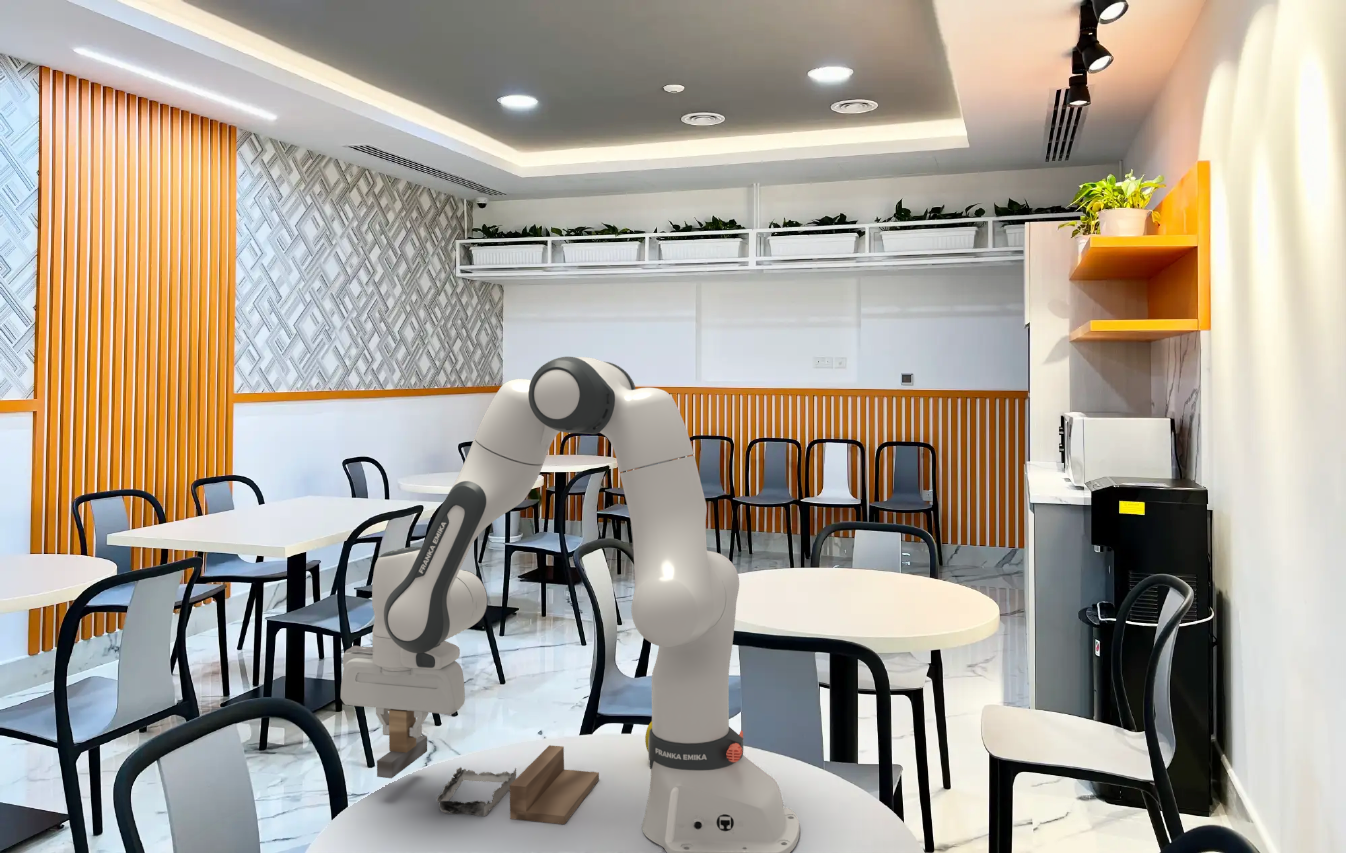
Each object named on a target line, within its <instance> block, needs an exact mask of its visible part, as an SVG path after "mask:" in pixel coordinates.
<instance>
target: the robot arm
mask: <svg viewBox="0 0 1346 853" xmlns="http://www.w3.org/2000/svg"><path fill="white" fill-rule="evenodd" d="M634 382H635V381H634V380H633V379H632V377H631V376H630V374H629V373H628V372H627V371H625V369H623V368H622V367H621V366H619V365H617V364H616V363H613V362H610V361H602V360H599V359H597V358H594V357H589V356H588V357H587V356H577V357H576V356H560V357H557V358H554V359H551V360H550V361H548V362H546V363H544V364H543V365H542V366H540V367H539V368H538V369H537V370H536V372H535V373H534V374H533V376H532V377H531V379H525V378H517V379H511V380H509V381H506V382H505V383H503V384H502V385H501V387H500V388H499V390H497V392H496V393H495V396H494V397H493V398H492V400H491V402H490V404H489V406H488V407H487V409H486V411H485V413H484V416H482V420H481V422H480V424H479V425H478V428H477V431H476V433H475V436H474V438H473V441H472V443H471V446H470V448H469V451H468V453H467V456H466V458H465V460H464V463H463V464H462V468H461V469H460V472H459V474H458V476H457V477H456V480H455V481H454V483H453V485H452V487H451V489H450V491H449V492H448V494H447V495H446V498H445V500H444V502H442V505H441V506H440V508H439V510H438V512H437V514H436V516H435V518H434V520H433V522H432V524H431V526H430V529H429V531H428V533H427V535H426V536H425V539H424V541H423V544H422V546H409V547H403V548H399V549H394V550H389V551H386V552H384V553H383V554H380V556H379V557H377V560H376V562H375V564H374V568H373V573H372V574H373V576H372V588H371V590H372V591H371V593H372V594H371V595H372V596H371V604H372V605H371V606H372V610H373V613H374V624H373V627H372V646H361V645H360V646H359V645H353V646H351V647H350V648H348V649H346V650H345V651H344V653H343V655H342V666H343V667H342V668H343V670H342V677H341V684H340V699H341V701H342V702H343V704H344V705H346V706H354V707H365V708H366V707H367V708H375V715H376V716H377V718H378V720H379V722H380V724H381V725H382V735H383V736H389V710H390V709H396V710H407V711H414V717H415V718H416V722H415V724H412V726H409V727H408V732H409V734H408V737H409V738H419V737H420V736H422V734H423V726H422V725H424V722H425V721H426V719H427V717H428V715H429V713H431V714H441V715H453V714H455V713H456V712H457V711H459V710H460V709H461V708H462V707H463V705H465V699H466V698H465V697H466V696H465V695H466V693H465V690H466V689H465V688H466V687H465V679H464V678H465V677H464V671H463V669H462V665H460V663H459V662H458V661H456V660H458V659H459V658H460V655H461V651H460V647H459V645H456V644H454V643H451V642H450V641H447V640H448V639H450V638H453V637H454V636H457V635H458V634H461V633H462V632H464V631H466V630H467V629H470V628H471V627H473V626H475V625H476V624H477V623H479V622H480V621H481V620H482V619H483V617H484V616H485V614H486V611H487V608H488V603H489V602H488V600H489V599H488V593H487V590H486V587H485V585H484V583H483V581H482V579H481V578H479V577H478V576H477V575H476V574H475V573H474V572H471V571H470V570H466V569H461V568H462V566H463V563H464V561H465V560H466V557H467V555H468V554H469V551H470V548H471V547H472V545H473V543H474V542H475V540H476V539H477V538H478V536H479V535H480V534H481V533H482V532H483V531H484V530H485V529H486V528H487V527H488V526H490V525H491V524H492V523H494V522H495V521H496V520H497V519H499V518H500V517H502V516H503V515H505V514H506V513H508V512H509V511H511V510H512V509H514V508H516V507H518V506H519V505H520V504H521V503H523V502H524V500H525V499H526V498H527V496H528V495H529V493H530V492H531V491H532V489H533V487H534V486H535V483H536V482H537V480H538V478H539V476H540V474H541V471H542V468H543V465H544V463H545V460H546V458H547V455H548V452H549V450H550V447H551V446H552V443H553V442H554V439H555V438H556V437H557V435H558V434H559V433H565V434H567V433H568V434H586V435H588V434H589V435H597V434H602V435H603V436H605V437H606V438H607V439H608V441H609V442H610V444H611V445H612V448H613V451H614V455H615V458H616V463H617V467H618V472H619V476H620V480H621V484H622V488H623V489H622V490H623V493H624V497H625V502H626V506H627V510H628V514H629V519H630V524H631V531H632V532H631V533H632V546H633V548H632V549H633V566H634V567H633V568H634V594H633V597H632V602H631V607H630V608H631V610H630V611H631V619H632V622H633V624H634V627H635V628H636V630H637V631H638V633H639V634H640V635H641V637H643V638H644V639H645V640H646V641H648V642H649V643H651V644H653V645H655V646H658V651H657V654H656V655H657V656H656V660H655V662H654V666H653V670H652V674H651V721H652V729H650V731H649V741H648V751H647V753H648V763H649V769H650V783H649V791H648V796H647V797H648V798H647V804H646V808H645V812H644V817H643V820H642V823H641V829H642V832H643V834H644V835H645V837H646V838H647V839H649V840H650V841H652V842H653V843H655V844H657V845H659V846H660V847H662V848H663V849H664V850H665V852H666V853H791V852H792V851H793V850H794V849H795V848H796V846H797V844H798V841H799V839H800V833H801V830H800V829H801V827H800V820H799V817H798V815H797V814H796V813H795V812H794V811H793V809H791V808H790V807H789V808H788V807H784V801H783V797H782V793H781V790H780V787H779V784H778V782H777V781H776V780H775V778H774V777H772V775H770V774H768V773H767V772H765V770H763V769H762V768H761V767H759V766H758V765H757V764H755V762H753V761H751V760H750V759H749V758H748V757H746V755H744V731H743V730H740V732H739V733H737V732H736V731H735V730H734V729H733V728H731V727H730V719H729V718H730V717H729V716H730V714H729V713H730V712H729V711H730V710H729V709H730V708H729V707H730V706H729V704H730V703H729V700H730V698H729V697H730V696H729V694H730V693H729V690H730V688H729V687H730V686H729V685H730V684H729V682H730V666H731V665H730V664H731V656H732V652H733V651H732V649H733V643H734V642H733V641H734V633H735V623H736V612H737V611H736V610H737V600H738V595H739V590H740V577H739V573H738V571H737V568H736V567H735V565H734V564H733V562H732V561H730V559H729V558H727V557H726V556H725V555H723V554H721V553H720V552H719V553H718V552H715V551H713V550H711V551H710V550H708V546H707V529H706V528H707V525H706V521H707V520H706V519H707V513H708V512H707V510H708V509H707V508H708V506H707V502H706V498H705V494H704V490H703V486H702V482H701V476H700V474H699V470H698V465H697V462H696V458H695V455H694V454H695V453H694V450H693V446H692V445H693V444H692V442H691V440H690V436H689V433H688V430H687V428H686V424H685V422H684V420H683V417H682V415H681V413H680V410H679V408H678V406H677V403H676V402H675V400H674V397H673V396H672V395H671V394H670V393H668V391H666V390H664V389H660V388H657V387H641V388H636V385H635V383H634Z"/></svg>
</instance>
